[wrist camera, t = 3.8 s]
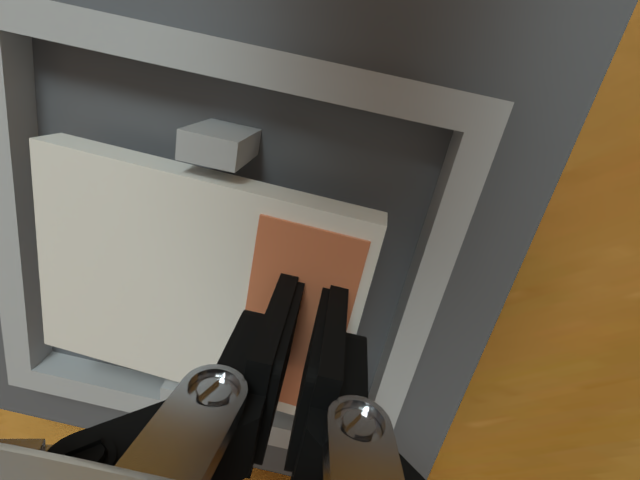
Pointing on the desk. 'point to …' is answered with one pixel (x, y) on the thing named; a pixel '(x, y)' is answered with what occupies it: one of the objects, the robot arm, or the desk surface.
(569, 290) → the desk surface
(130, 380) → the switch plate
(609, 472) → the desk surface
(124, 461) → the robot arm
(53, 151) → the rocker switch
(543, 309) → the desk surface
